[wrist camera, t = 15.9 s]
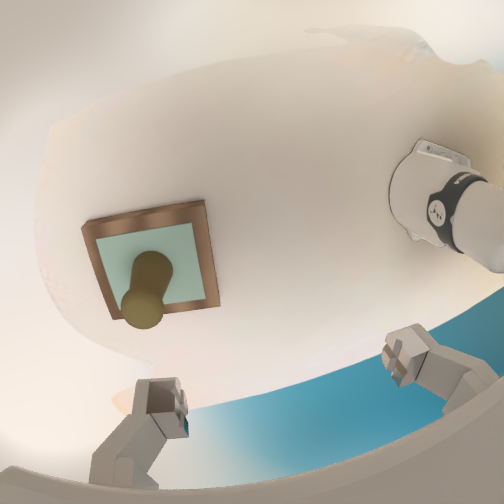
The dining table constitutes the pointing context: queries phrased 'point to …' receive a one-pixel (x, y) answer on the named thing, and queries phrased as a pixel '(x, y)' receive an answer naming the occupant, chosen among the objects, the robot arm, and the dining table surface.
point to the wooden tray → (161, 240)
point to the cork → (147, 290)
